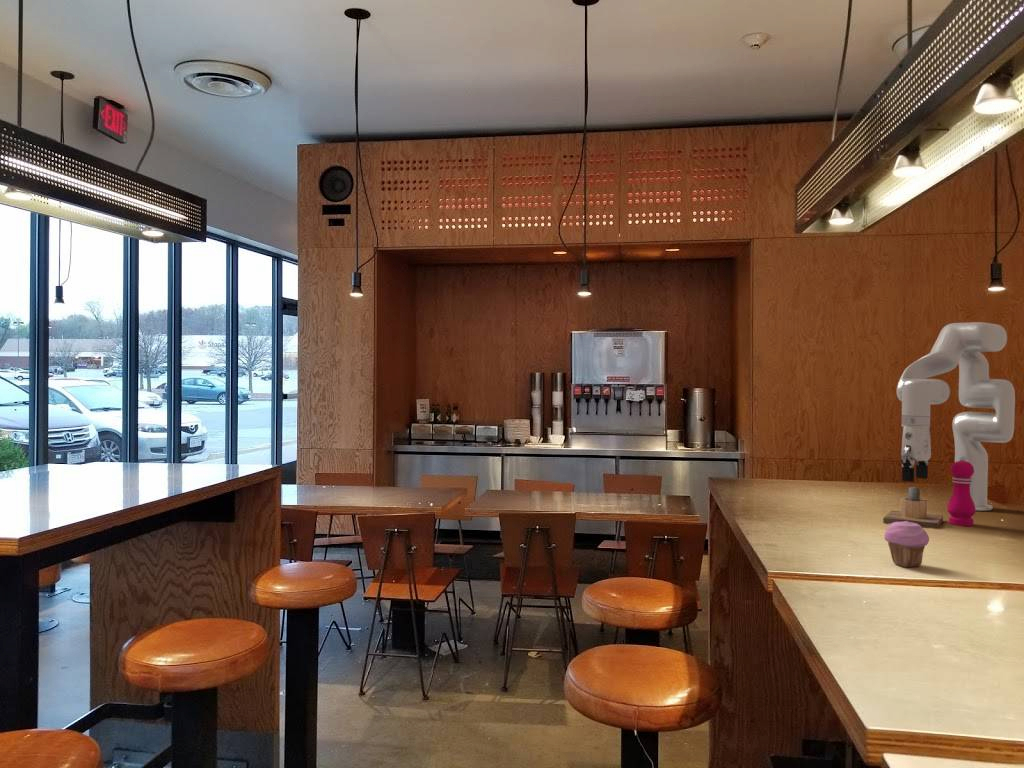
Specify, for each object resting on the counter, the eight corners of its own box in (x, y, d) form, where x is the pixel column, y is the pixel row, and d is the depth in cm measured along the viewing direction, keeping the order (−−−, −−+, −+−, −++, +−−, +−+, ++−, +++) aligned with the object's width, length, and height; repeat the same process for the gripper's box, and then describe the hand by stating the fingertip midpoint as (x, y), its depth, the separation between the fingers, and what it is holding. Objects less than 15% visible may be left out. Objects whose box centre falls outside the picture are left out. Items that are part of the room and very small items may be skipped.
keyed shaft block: (891, 515, 250) (892, 483, 250) (942, 520, 243) (943, 487, 243) (883, 522, 237) (883, 488, 237) (937, 528, 229) (938, 493, 229)
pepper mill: (980, 526, 233) (982, 457, 233) (954, 526, 233) (956, 456, 233) (966, 522, 240) (968, 454, 240) (942, 521, 240) (943, 454, 240)
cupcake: (903, 570, 177) (904, 525, 177) (875, 561, 186) (876, 518, 186) (936, 568, 180) (937, 523, 180) (907, 560, 188) (908, 517, 188)
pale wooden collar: (898, 516, 239) (898, 499, 239) (902, 513, 245) (902, 497, 245) (924, 519, 235) (924, 502, 235) (927, 516, 241) (927, 499, 241)
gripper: (917, 423, 231) (916, 484, 231) (940, 421, 242) (939, 478, 243) (890, 422, 236) (889, 481, 237) (914, 419, 248) (913, 475, 248)
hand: (914, 479), depth 240 cm, fingers open, 9 cm apart
